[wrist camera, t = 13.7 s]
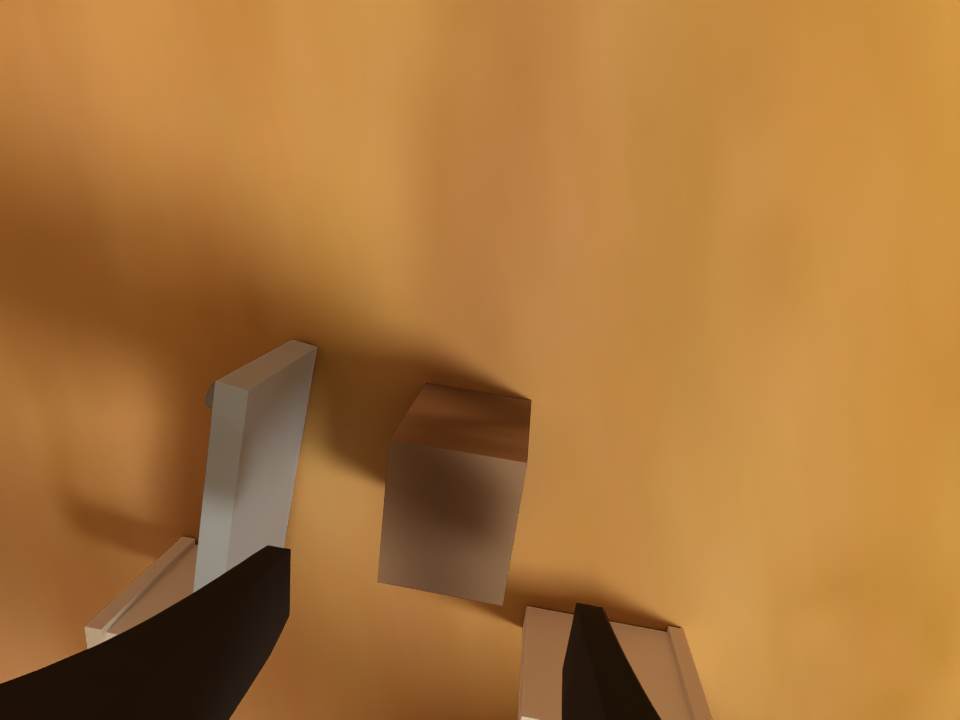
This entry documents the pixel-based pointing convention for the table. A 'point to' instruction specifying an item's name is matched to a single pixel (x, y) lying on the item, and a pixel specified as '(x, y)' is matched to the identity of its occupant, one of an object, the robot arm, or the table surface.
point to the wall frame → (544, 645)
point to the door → (252, 457)
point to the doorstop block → (454, 493)
